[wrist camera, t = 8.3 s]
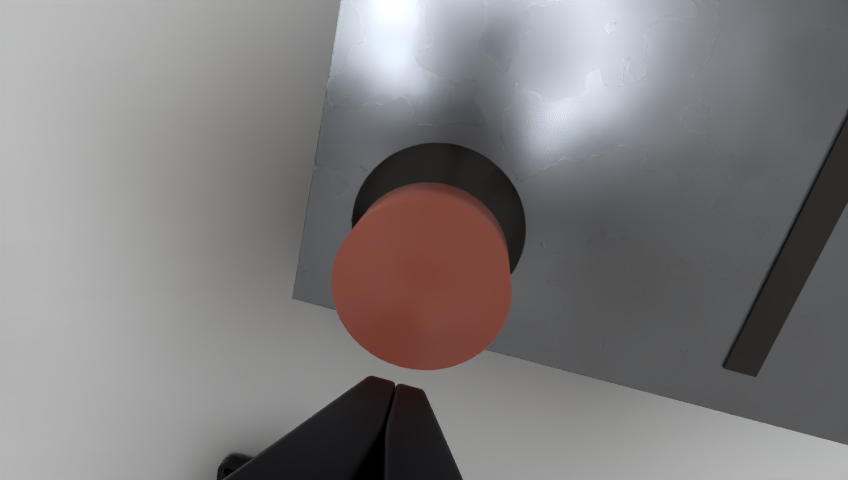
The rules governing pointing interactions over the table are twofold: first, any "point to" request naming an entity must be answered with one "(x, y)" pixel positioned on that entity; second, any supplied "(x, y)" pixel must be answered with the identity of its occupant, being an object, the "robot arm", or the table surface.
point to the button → (423, 277)
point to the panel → (620, 182)
